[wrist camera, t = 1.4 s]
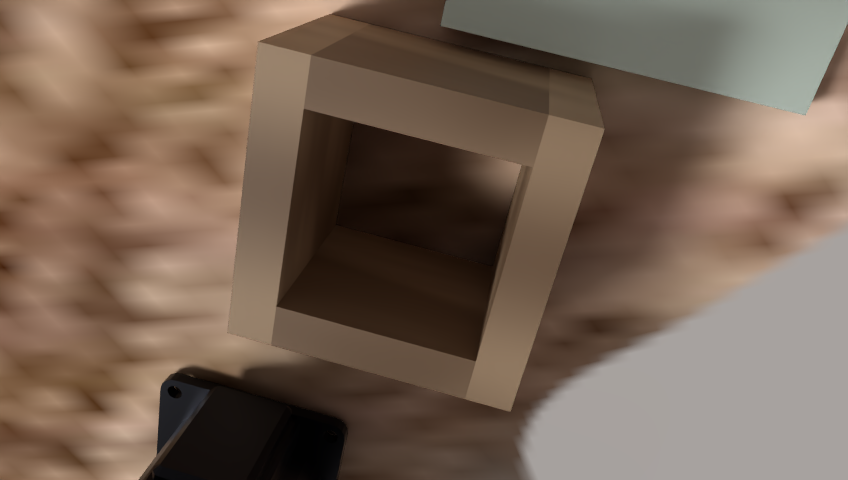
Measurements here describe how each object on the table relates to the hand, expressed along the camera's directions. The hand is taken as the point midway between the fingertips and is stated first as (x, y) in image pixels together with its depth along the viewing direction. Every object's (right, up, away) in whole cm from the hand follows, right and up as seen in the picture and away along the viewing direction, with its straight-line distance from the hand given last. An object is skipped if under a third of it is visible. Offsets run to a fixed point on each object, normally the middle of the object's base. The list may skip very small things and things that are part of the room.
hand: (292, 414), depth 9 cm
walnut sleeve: (+2, +4, +11) cm, 12 cm away
